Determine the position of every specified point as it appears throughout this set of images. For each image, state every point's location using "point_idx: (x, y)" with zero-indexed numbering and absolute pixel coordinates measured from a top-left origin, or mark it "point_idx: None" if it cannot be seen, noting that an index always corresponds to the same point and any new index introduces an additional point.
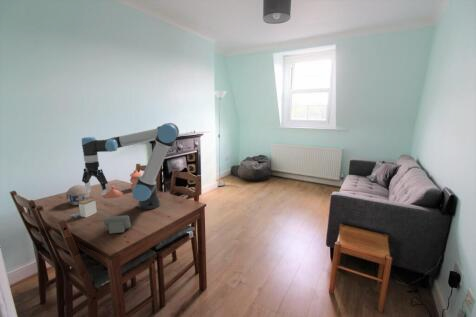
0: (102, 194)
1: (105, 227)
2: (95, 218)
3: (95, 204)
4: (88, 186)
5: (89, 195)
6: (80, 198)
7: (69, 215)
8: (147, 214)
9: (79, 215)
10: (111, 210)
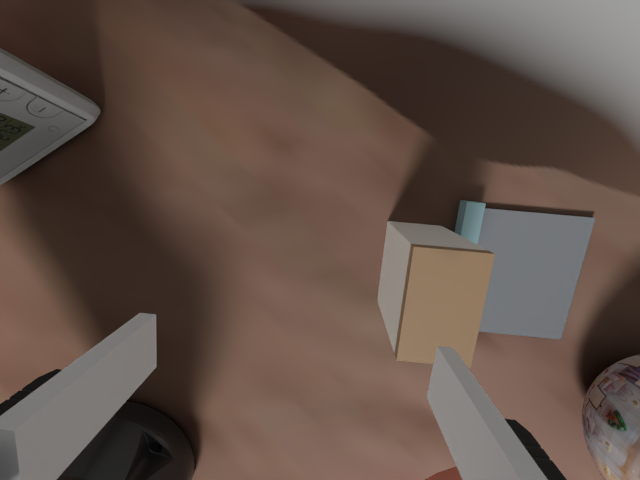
0: (134, 319)
1: (69, 87)
2: (314, 228)
3: (387, 329)
4: (471, 448)
5: (600, 471)
6: (626, 399)
7: (532, 212)
8: (53, 353)
9: (456, 230)
10: (313, 353)
